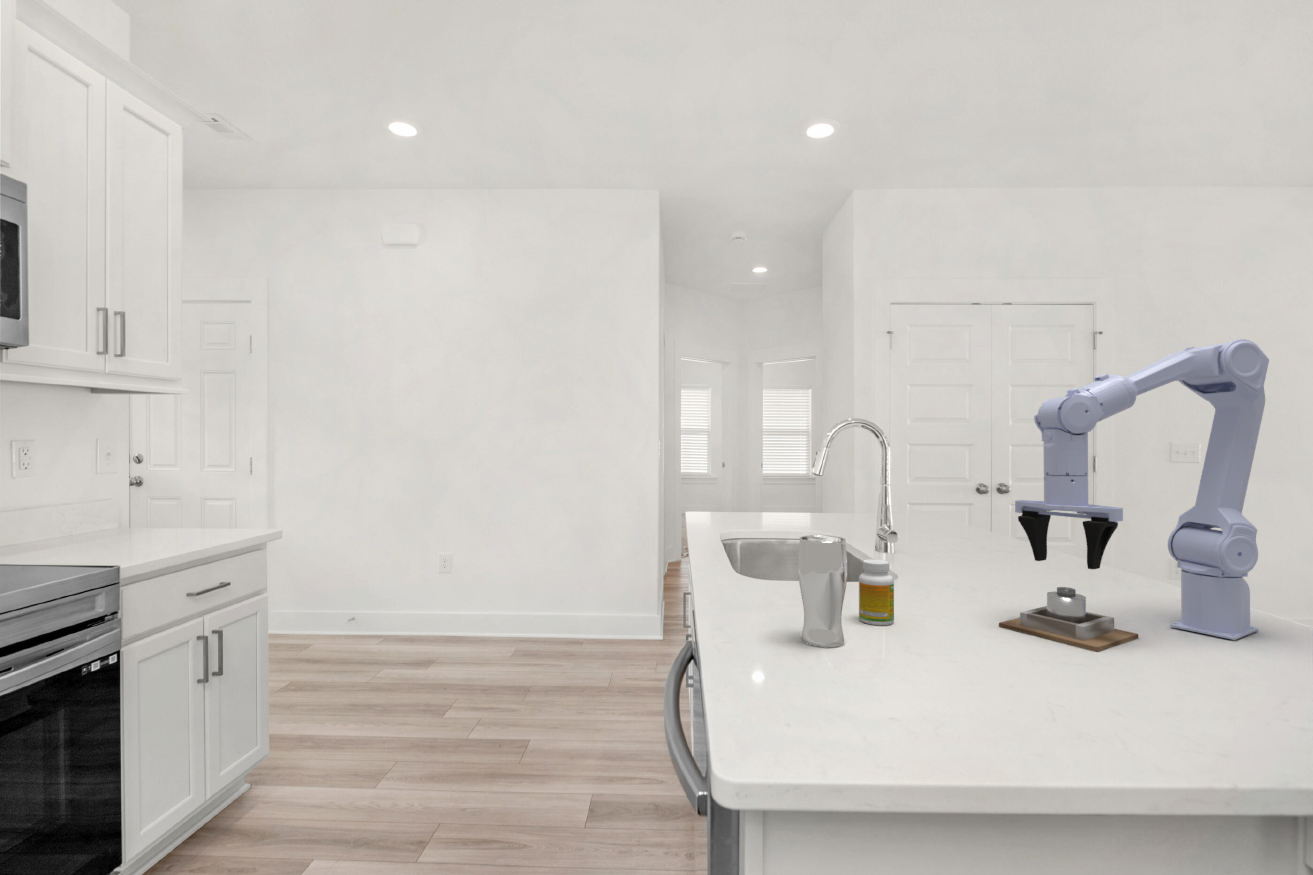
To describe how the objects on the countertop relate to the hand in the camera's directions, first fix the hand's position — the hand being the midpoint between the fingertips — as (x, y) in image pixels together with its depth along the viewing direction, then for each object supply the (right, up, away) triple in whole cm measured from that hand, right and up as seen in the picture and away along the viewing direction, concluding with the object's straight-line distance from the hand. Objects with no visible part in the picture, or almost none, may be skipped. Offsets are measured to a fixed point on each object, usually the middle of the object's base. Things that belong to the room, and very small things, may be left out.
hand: (1066, 564), depth 97 cm
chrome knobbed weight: (0, -10, 0) cm, 10 cm away
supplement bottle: (-27, -11, +6) cm, 30 cm away
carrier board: (0, -10, 0) cm, 10 cm away
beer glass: (-38, -11, -4) cm, 40 cm away
